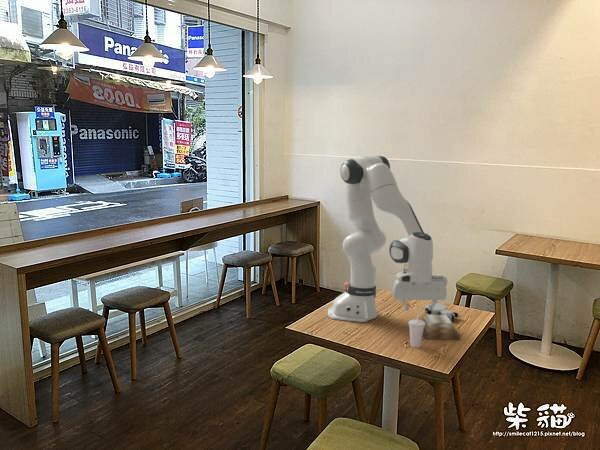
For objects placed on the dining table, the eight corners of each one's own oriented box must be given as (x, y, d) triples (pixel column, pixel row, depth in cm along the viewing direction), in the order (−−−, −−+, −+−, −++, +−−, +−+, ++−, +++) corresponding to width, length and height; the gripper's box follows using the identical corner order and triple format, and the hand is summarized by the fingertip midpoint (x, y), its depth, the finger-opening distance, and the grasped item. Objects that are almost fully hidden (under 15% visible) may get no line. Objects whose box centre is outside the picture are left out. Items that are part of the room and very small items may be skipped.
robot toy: (462, 322, 222) (437, 309, 234) (464, 312, 221) (439, 300, 233) (443, 327, 216) (418, 313, 228) (444, 317, 214) (420, 304, 227)
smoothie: (426, 345, 194) (429, 311, 191) (418, 350, 189) (421, 315, 187) (412, 340, 198) (414, 307, 195) (403, 345, 193) (406, 311, 191)
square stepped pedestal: (424, 338, 200) (425, 324, 199) (417, 325, 214) (418, 312, 213) (459, 339, 200) (460, 325, 199) (449, 326, 214) (450, 313, 213)
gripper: (445, 273, 191) (443, 307, 193) (392, 273, 192) (391, 307, 194) (449, 278, 185) (447, 313, 187) (394, 277, 185) (393, 312, 188)
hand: (418, 310), depth 191 cm, fingers open, 8 cm apart
